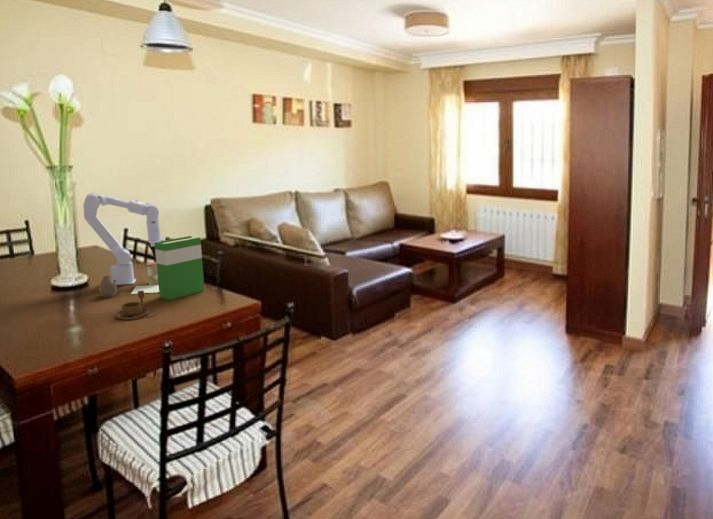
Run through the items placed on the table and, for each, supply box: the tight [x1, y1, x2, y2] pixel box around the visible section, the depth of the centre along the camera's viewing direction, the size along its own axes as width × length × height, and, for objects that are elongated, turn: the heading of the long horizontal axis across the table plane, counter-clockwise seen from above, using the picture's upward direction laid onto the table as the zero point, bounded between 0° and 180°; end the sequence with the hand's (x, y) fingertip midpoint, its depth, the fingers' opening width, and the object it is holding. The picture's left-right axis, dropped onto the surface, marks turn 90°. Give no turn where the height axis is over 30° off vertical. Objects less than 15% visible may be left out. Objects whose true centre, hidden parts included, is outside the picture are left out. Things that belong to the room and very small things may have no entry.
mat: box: [130, 284, 159, 295], centre depth 246 cm, size 16×13×1 cm
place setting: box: [115, 291, 156, 321], centre depth 214 cm, size 18×20×6 cm
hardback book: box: [155, 235, 205, 301], centre depth 236 cm, size 18×7×24 cm, turn 142°
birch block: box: [146, 261, 158, 285], centre depth 254 cm, size 5×5×10 cm
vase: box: [98, 275, 118, 298], centre depth 236 cm, size 7×7×9 cm
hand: (156, 258), depth 262 cm, fingers closed
